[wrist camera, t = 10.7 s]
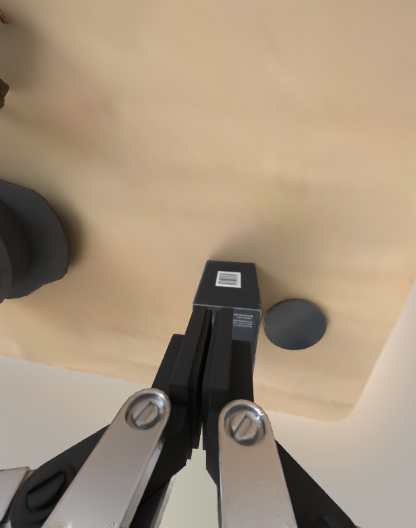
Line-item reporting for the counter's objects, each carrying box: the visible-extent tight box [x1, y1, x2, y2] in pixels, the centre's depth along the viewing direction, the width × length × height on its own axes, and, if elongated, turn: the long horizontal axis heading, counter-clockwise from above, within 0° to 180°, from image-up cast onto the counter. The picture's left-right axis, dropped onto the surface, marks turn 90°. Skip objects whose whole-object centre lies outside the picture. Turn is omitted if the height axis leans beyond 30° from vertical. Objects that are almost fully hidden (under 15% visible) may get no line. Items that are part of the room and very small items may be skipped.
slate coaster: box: [264, 299, 326, 350], centre depth 31 cm, size 8×8×1 cm
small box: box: [193, 261, 262, 377], centre depth 26 cm, size 11×6×10 cm
